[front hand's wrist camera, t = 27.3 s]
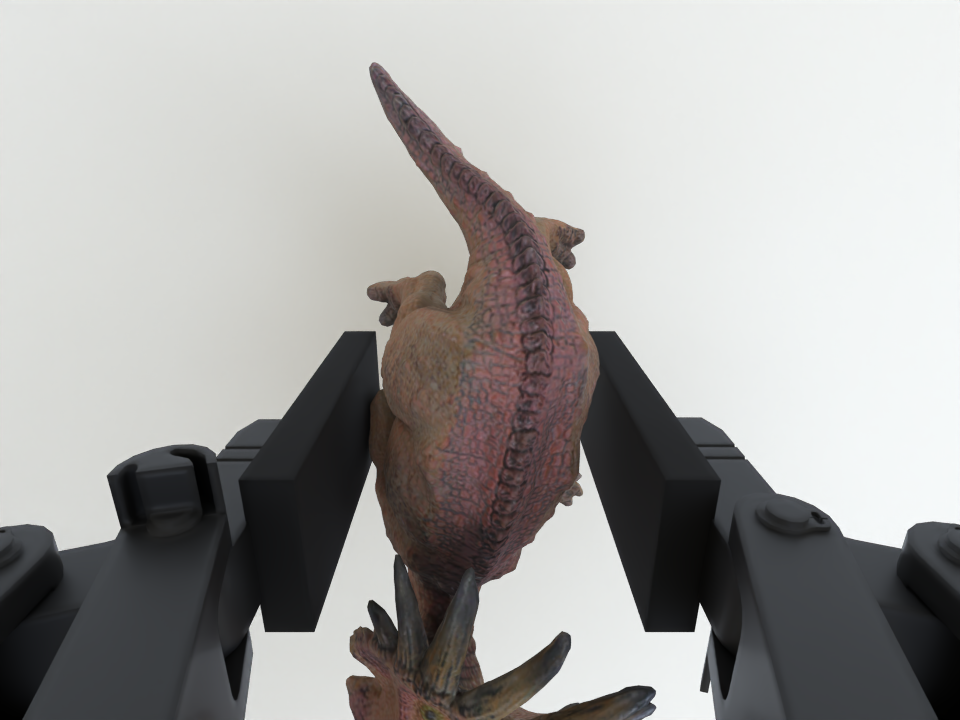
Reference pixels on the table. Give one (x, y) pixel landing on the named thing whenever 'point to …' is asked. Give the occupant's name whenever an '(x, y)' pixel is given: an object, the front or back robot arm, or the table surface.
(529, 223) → the dinosaur figurine
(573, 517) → the table surface
